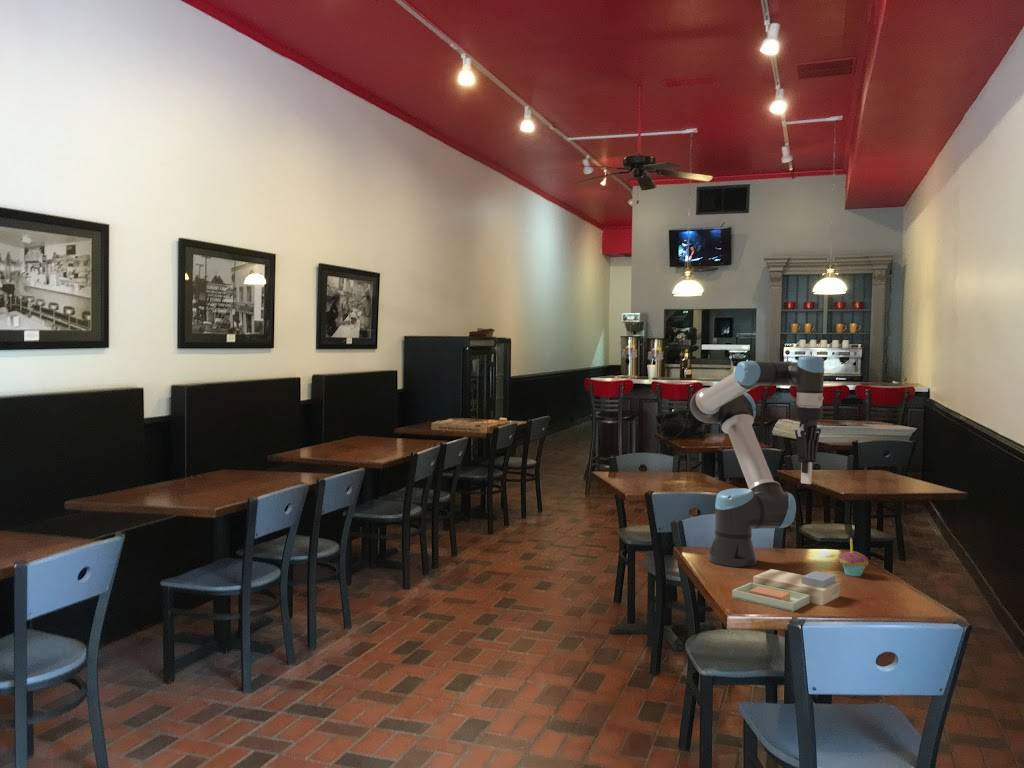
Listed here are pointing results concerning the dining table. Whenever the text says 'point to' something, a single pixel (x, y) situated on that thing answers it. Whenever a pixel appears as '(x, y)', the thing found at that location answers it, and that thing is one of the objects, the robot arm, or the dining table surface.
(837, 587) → the beige flat box
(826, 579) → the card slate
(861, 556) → the cupcake
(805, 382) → the robot arm
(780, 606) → the tray
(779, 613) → the dining table surface
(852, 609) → the dining table surface
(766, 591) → the orange flat block
